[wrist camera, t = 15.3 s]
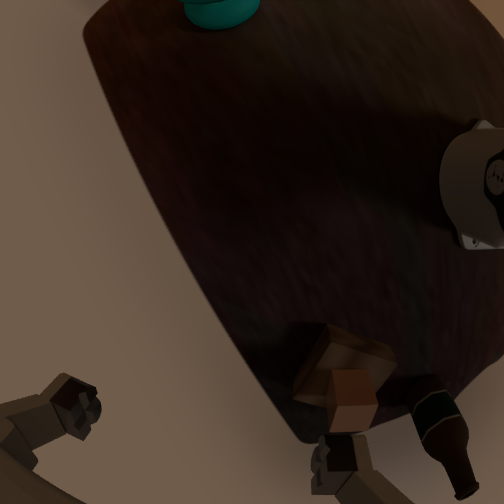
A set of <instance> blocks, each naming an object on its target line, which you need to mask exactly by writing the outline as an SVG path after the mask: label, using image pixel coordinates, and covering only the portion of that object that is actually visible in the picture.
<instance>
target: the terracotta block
mask: <svg viewBox="0 0 504 504" xmlns="http://www.w3.org/2000/svg"><path fill="white" fill-rule="evenodd" d="M326 402H327V411H328V422H329V432H351V431H367V430H368V428H369V426H370V424H371V421H372V419H373V417H374V414H375V412H376V409H377V407H378V401H377V398H376V395H375V391H374V388H373V385H372V382H371V378H370V375H369V372H368V369H355V370H332V371H331V376H330V380H329V385H328V389H327V393H326Z"/></svg>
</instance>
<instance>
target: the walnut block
mask: <svg viewBox="0 0 504 504" xmlns="http://www.w3.org/2000/svg"><path fill="white" fill-rule="evenodd" d="M398 364H399V363H398V361H397V359H396V357H395V355H394V353H393V351H392V349H391V347H390V345H388V344H385V343H382V342H379V341H376V340H373V339H370V338H367V337H364V336H361V335H358V334H356V333H353V332H350V331H347V330H344V329H341V328H339V327H336V326H333V325H330V324H326V326H325V328H324V330H323V331H322V333H321V335H320V336H319V338H318V340H317V342H316V343H315V345H314V347H313V348H312V350H311V352H310V353H309V355H308V356H307V358H306V360H305V361H304V363H303V365H302V366H301V368H300V369H299V371H298V372H297V374H296V376H295V377H294V379H293V399H294V400H298V401H301V402H305V403H308V404H312V405H316V406H320V407H324V408H327V402H326V393H327V389H328V385H329V380H330V376H331V371H332V370H355V369H368V372H369V375H370V378H371V382H372V385H373V388H374V391H375V393H376V392H377V391H378V390H379V389H380V387H381V386H382V385H383V383H384V382H385V381H386V380H387V378H388V377H389V376H390V374H391V373H392V372H393V370H394V369H395V368H396V366H397V365H398Z"/></svg>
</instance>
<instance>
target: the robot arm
mask: <svg viewBox="0 0 504 504" xmlns="http://www.w3.org/2000/svg"><path fill="white" fill-rule="evenodd" d="M439 186H440V194H441V198H442V202H443V205H444V208H445V210H446V212H447V214H448V216H449V218H450V219H451V221H452V222H453V224H454V225H455V227H456V229H457V234H458V239H459V242H460V245H461V247H462V248H464V249H468V250H473V249H504V128H495V127H494V126H492V125H491V124H490V123H489V122H487V121H486V120H479V121H478V122H477V123H476V124H475V125H474V127H473V128H472V129H471V130H470V131H468V132H466V133H463V134H461V135H459V136H457V137H456V138H455V139H454V140H453V141H452V142H451V143H450V144H449V146H448V147H447V149H446V151H445V153H444V155H443V158H442V162H441V166H440V174H439ZM473 239H474V242H472V241H473ZM96 395H97V390H96V387H94V386H92V385H90V384H87V383H85V382H83V381H80V380H79V379H76V378H74V377H72V376H70V375H68V374H66V373H61V374H59V375H58V376H57V377H56V378H55V379H54V380H53V382H52V383H51V384H49V386H48V387H47V388H46V389H45V390H44V391H43V392H42V393H41V394H40V395H38V394H35V395H31V396H28V397H25V398H21V399H17V400H14V401H10V402H6V403H2V404H0V504H86V503H84V502H82V501H80V500H79V499H77V498H75V497H73V496H71V495H70V494H67V493H66V492H64V491H63V490H61V489H59V488H57V487H56V486H54V485H53V484H51V483H49V482H48V481H46V480H45V479H43V478H42V477H40V476H39V475H37V474H36V473H34V472H33V471H32V470H33V469H34V467H35V466H36V465H37V463H38V459H37V457H36V456H35V454H34V453H33V452H32V450H34V449H36V448H38V447H40V446H42V445H44V444H47V443H48V442H51V441H53V440H54V439H57V438H59V437H61V436H63V435H65V434H66V433H68V434H70V435H72V436H74V437H76V438H78V439H80V440H82V441H84V440H85V438H86V437H87V435H88V434H89V432H90V431H91V424H93V423H96V422H97V420H98V419H99V417H100V414H101V410H102V409H101V402H100V401H99V399H98V398H97V397H96ZM311 471H312V472H313V473H314V474H315V475H314V476H313V478H312V480H311V489H312V491H311V492H312V495H335V497H336V498H337V499H338V501H339V502H340V504H414V503H413V502H412V501H411V500H409V499H408V498H407V497H406V496H405V495H404V494H403V493H401V492H400V491H399V490H398V489H397V488H396V487H395V486H394V485H393V484H392V483H390V482H389V481H388V480H387V479H386V478H385V477H384V476H383V475H382V474H381V473H379V472H378V471H377V470H373V467H372V462H371V457H370V453H369V448H368V444H367V439H366V436H365V435H322V436H321V437H320V439H319V446H317V447H316V448H315V449H314V452H313V454H312V458H311Z"/></svg>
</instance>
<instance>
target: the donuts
mask: <svg viewBox="0 0 504 504" xmlns="http://www.w3.org/2000/svg"><path fill="white" fill-rule="evenodd" d="M178 1H181V2H184V10H185V14H186V16H187V17H188V19H189V20H190V21H191V22H192V23H194V24H195V25H197V26H199V27H202V28H205V29H211V30H220V29H227V28H231V27H234V26H237V25H239V24H241V23H243V22H245V21H246V20H248V19H249V18H250V17H251V16H252V15H253V14H254V13H255V12H256V10H257V8H258V6H259V3H260V0H224V1H222V0H178ZM219 1H221V2H219Z"/></svg>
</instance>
